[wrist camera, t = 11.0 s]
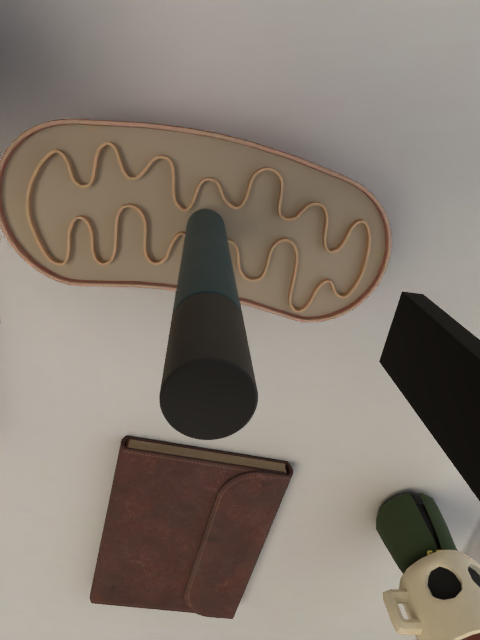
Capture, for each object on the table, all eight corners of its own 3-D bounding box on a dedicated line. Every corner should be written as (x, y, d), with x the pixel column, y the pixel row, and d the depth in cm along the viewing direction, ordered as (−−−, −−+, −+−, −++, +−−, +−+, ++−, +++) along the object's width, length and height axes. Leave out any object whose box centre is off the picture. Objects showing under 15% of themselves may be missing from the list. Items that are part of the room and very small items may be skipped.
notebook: (91, 587, 45) (87, 607, 43) (122, 435, 37) (118, 451, 35) (234, 601, 47) (235, 620, 45) (290, 461, 40) (295, 478, 38)
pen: (178, 220, 25) (139, 388, 9) (212, 201, 25) (228, 342, 9) (199, 253, 26) (192, 455, 10) (231, 235, 25) (274, 414, 10)
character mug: (466, 485, 42) (567, 626, 31) (445, 536, 45) (530, 683, 34) (358, 483, 41) (419, 629, 30) (343, 536, 44) (394, 688, 32)
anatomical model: (26, 250, 30) (-6, 273, 25) (27, 88, 26) (-10, 83, 21) (342, 303, 33) (364, 332, 29) (386, 168, 29) (419, 177, 25)
